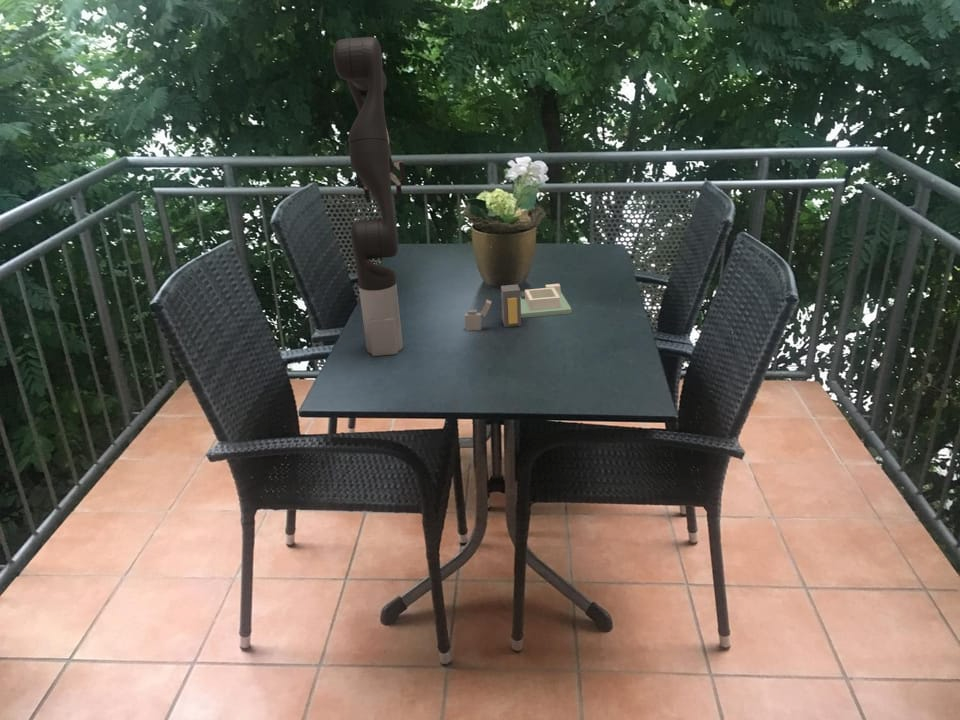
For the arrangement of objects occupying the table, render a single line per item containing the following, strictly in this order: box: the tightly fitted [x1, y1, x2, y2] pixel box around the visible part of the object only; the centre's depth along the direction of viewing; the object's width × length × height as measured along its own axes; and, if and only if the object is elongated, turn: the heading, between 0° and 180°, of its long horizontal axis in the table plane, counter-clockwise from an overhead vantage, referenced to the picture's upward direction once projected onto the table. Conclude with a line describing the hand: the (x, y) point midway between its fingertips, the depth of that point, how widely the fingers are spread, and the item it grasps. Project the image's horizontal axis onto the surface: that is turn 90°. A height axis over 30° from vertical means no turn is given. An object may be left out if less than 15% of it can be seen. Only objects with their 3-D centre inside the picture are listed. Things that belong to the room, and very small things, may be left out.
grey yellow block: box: [500, 284, 522, 328], centre depth 205 cm, size 5×4×10 cm
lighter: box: [464, 299, 492, 332], centre depth 203 cm, size 7×2×8 cm, turn 88°
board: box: [520, 283, 573, 319], centre depth 217 cm, size 16×14×4 cm
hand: (384, 200), depth 225 cm, fingers open, 8 cm apart
